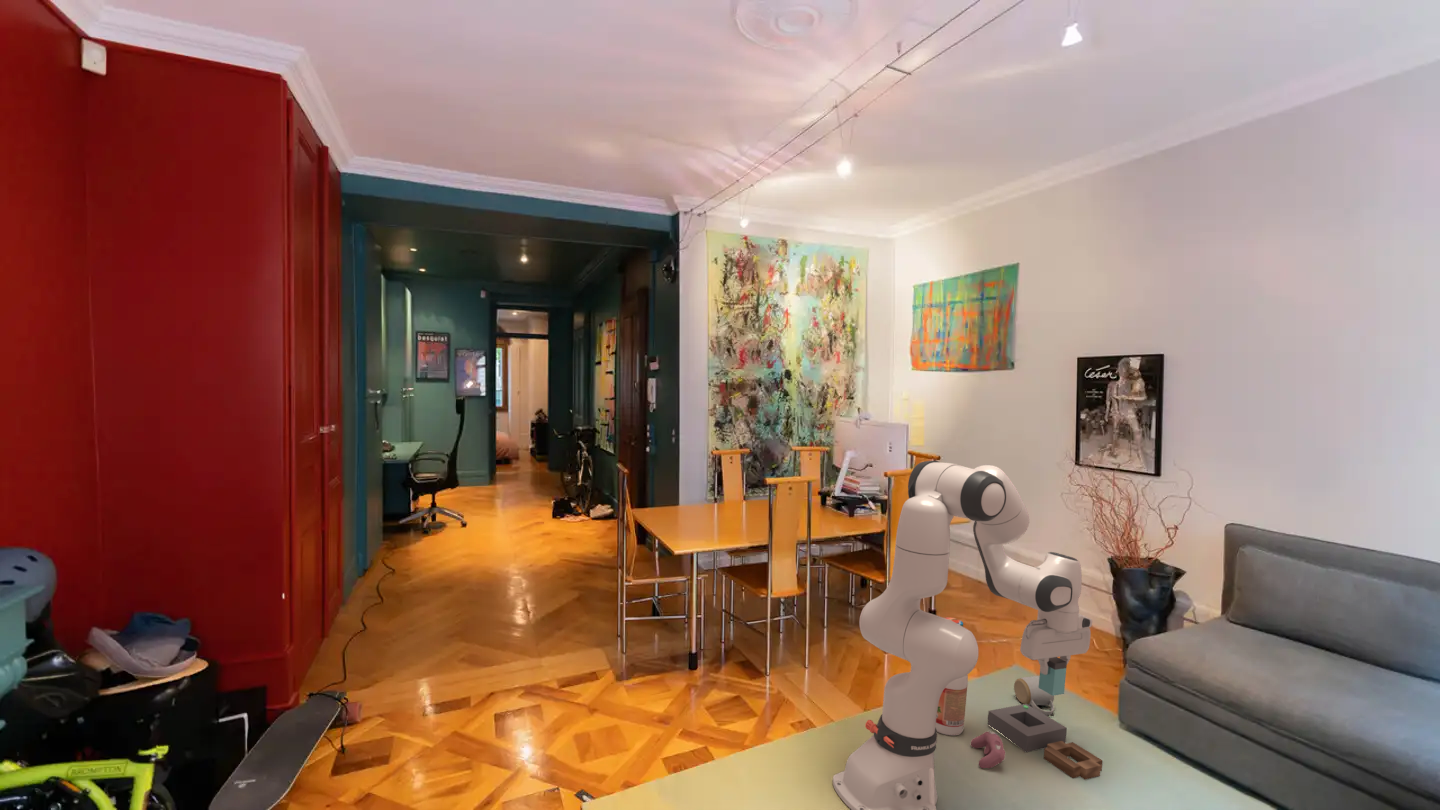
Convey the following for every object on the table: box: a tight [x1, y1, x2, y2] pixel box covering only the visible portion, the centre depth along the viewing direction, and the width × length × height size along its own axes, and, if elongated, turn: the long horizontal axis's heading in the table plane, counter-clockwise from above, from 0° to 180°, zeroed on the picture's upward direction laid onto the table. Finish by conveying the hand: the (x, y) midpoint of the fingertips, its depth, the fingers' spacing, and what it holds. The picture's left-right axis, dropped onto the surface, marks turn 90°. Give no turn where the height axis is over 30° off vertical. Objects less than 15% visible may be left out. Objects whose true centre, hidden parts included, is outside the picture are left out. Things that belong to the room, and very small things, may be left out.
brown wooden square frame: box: [1043, 741, 1103, 781], centre depth 142 cm, size 10×10×2 cm
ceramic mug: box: [1013, 675, 1055, 716], centre depth 170 cm, size 11×8×8 cm
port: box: [986, 703, 1067, 753], centre depth 154 cm, size 14×12×4 cm
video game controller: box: [970, 730, 1006, 769], centre depth 142 cm, size 10×5×7 cm
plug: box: [1039, 657, 1068, 697], centre depth 148 cm, size 4×4×8 cm
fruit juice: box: [935, 616, 969, 736], centre depth 155 cm, size 9×9×28 cm
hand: (1052, 672), depth 148 cm, fingers closed on plug, 4 cm apart
